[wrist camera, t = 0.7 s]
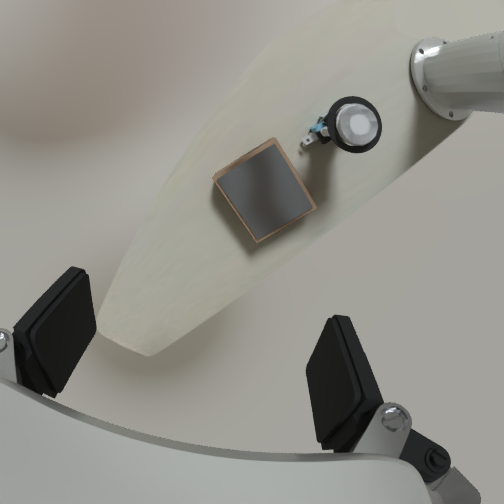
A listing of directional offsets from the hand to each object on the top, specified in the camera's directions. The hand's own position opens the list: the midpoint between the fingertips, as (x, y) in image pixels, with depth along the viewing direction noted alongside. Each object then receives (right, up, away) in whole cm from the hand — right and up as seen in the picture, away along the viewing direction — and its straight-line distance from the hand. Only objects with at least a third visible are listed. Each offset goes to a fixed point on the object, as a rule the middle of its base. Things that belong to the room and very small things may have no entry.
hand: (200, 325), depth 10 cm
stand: (+3, +11, +23) cm, 26 cm away
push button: (+10, +17, +20) cm, 29 cm away
